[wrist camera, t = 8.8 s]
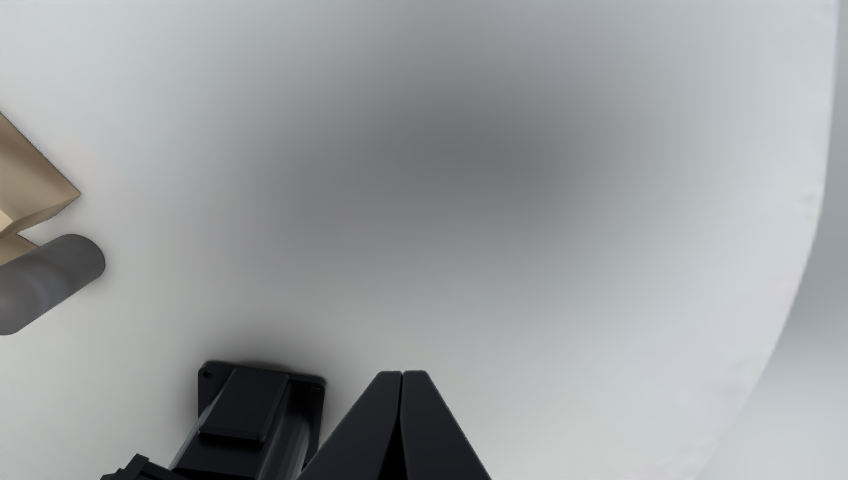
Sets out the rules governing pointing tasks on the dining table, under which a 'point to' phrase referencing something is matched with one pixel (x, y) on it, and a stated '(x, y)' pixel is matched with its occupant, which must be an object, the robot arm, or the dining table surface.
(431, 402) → the robot arm
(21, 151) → the tongs jaw
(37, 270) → the tongs fixed arm
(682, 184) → the dining table surface
